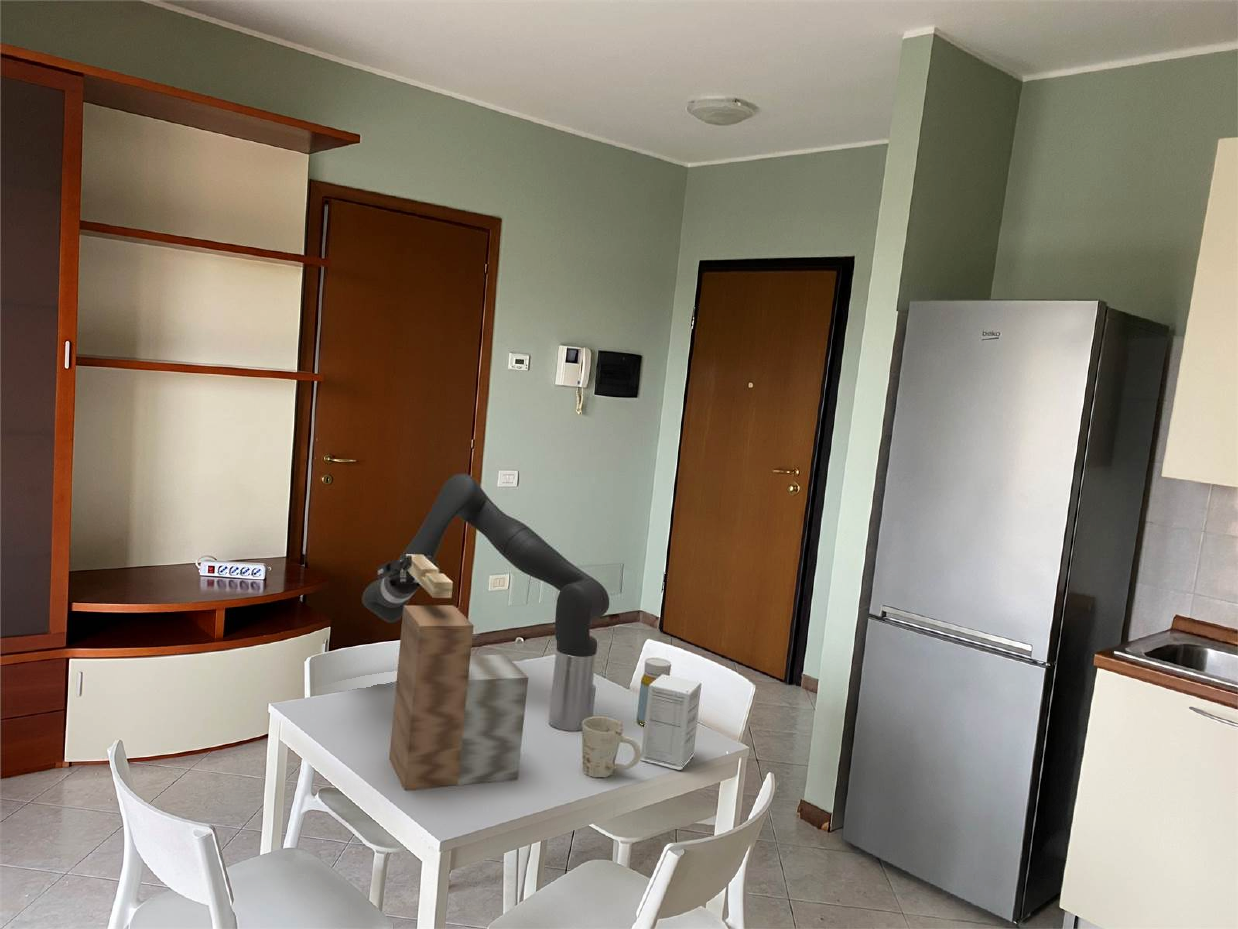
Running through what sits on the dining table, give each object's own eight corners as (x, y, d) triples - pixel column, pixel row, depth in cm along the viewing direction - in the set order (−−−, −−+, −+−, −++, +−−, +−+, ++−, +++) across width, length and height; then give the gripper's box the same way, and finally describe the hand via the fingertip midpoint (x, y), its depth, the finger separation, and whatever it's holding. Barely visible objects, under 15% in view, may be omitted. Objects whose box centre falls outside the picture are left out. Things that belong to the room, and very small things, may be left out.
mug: (581, 760, 189) (586, 714, 188) (640, 770, 187) (646, 723, 186) (573, 776, 180) (579, 728, 179) (635, 787, 179) (641, 738, 178)
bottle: (663, 731, 210) (670, 668, 208) (633, 725, 211) (641, 663, 210) (667, 721, 217) (675, 660, 215) (639, 715, 218) (646, 655, 217)
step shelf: (495, 750, 189) (510, 605, 186) (517, 779, 176) (534, 624, 173) (389, 758, 179) (403, 605, 176) (404, 790, 167) (420, 626, 164)
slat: (421, 568, 193) (422, 554, 192) (451, 597, 171) (452, 582, 171) (404, 568, 191) (406, 554, 191) (433, 597, 170) (434, 582, 169)
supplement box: (694, 757, 197) (703, 682, 195) (681, 772, 188) (691, 694, 187) (653, 746, 200) (662, 672, 199) (638, 761, 192) (648, 684, 190)
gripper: (368, 566, 199) (385, 541, 185) (431, 566, 206) (452, 543, 192) (368, 599, 197) (386, 577, 183) (432, 599, 203) (454, 577, 189)
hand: (420, 560), depth 187 cm, fingers closed on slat, 3 cm apart
